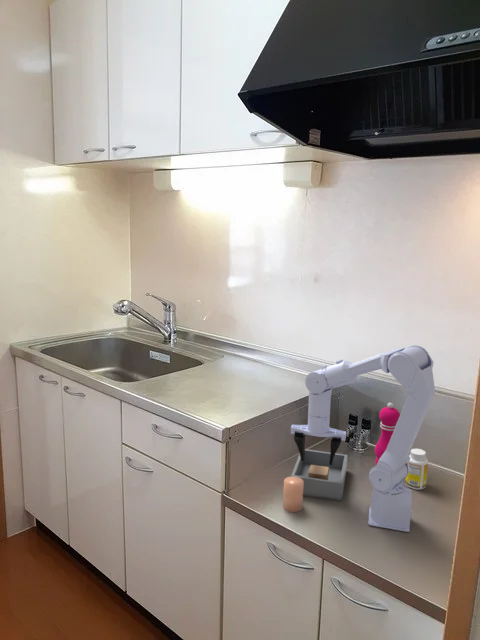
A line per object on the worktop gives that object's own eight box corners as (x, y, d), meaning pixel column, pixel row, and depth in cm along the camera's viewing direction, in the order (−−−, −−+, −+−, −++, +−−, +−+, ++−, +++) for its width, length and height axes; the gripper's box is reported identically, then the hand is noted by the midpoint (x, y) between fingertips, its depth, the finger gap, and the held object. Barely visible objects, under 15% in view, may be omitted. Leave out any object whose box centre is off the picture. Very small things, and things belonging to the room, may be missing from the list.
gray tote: (346, 470, 149) (347, 454, 148) (341, 501, 132) (342, 483, 131) (300, 464, 152) (301, 448, 151) (290, 493, 136) (290, 476, 135)
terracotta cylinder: (303, 502, 131) (305, 478, 130) (300, 513, 126) (301, 487, 125) (285, 499, 132) (286, 475, 131) (281, 509, 128) (282, 484, 126)
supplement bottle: (420, 480, 144) (423, 446, 142) (429, 490, 138) (432, 455, 136) (401, 480, 143) (404, 447, 141) (410, 491, 138) (413, 456, 136)
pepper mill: (395, 473, 148) (400, 408, 144) (370, 467, 151) (375, 404, 147) (400, 463, 154) (405, 401, 150) (377, 457, 157) (381, 397, 154)
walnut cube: (328, 483, 140) (328, 467, 139) (326, 492, 135) (327, 475, 134) (310, 481, 141) (310, 464, 140) (307, 489, 136) (308, 472, 135)
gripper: (348, 411, 135) (345, 458, 138) (294, 405, 139) (293, 451, 142) (345, 421, 128) (342, 470, 131) (289, 414, 132) (288, 462, 135)
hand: (316, 461), depth 136 cm, fingers open, 7 cm apart
